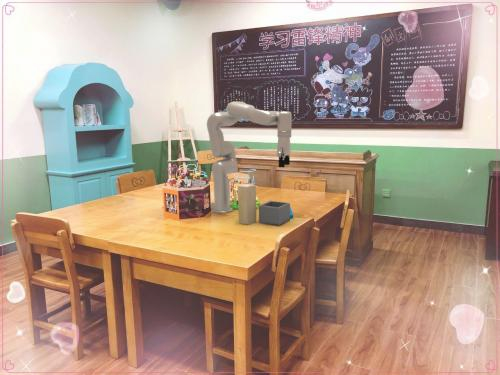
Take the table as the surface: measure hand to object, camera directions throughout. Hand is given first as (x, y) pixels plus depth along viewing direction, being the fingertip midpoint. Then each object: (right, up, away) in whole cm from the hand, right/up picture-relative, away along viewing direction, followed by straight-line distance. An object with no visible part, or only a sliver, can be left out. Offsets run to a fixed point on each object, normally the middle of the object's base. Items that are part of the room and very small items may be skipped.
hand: (284, 166), depth 227 cm
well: (-5, -31, +3) cm, 31 cm away
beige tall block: (-20, -31, +3) cm, 37 cm away
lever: (+2, -28, +18) cm, 34 cm away
